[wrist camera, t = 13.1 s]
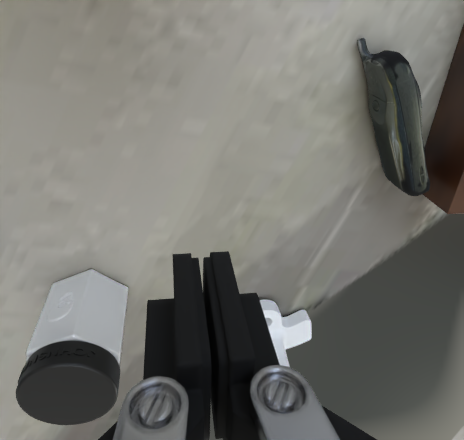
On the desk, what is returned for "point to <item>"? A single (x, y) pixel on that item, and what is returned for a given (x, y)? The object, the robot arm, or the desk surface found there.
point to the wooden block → (448, 141)
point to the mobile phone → (396, 118)
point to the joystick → (286, 329)
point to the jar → (75, 351)
